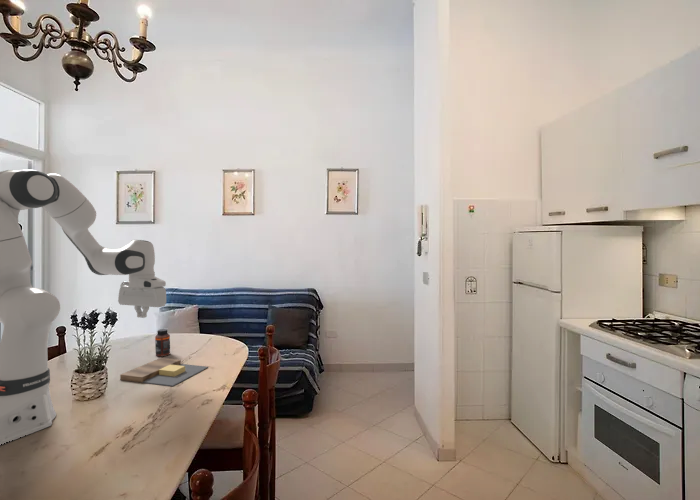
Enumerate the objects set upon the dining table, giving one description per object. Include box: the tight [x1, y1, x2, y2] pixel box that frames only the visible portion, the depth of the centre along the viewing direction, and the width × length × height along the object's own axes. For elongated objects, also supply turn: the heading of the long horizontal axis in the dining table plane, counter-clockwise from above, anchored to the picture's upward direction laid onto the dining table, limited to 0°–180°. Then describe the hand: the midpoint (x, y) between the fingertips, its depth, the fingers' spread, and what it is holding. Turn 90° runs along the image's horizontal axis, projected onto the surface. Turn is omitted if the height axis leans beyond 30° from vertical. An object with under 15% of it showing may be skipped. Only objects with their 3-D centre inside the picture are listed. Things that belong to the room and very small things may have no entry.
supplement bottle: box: [154, 328, 171, 357], centre depth 169 cm, size 6×6×11 cm
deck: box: [119, 357, 182, 384], centre depth 148 cm, size 20×10×2 cm, turn 164°
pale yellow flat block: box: [159, 365, 185, 377], centre depth 146 cm, size 6×7×2 cm
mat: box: [142, 363, 209, 387], centre depth 145 cm, size 20×13×1 cm, turn 164°
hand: (141, 317), depth 146 cm, fingers closed
